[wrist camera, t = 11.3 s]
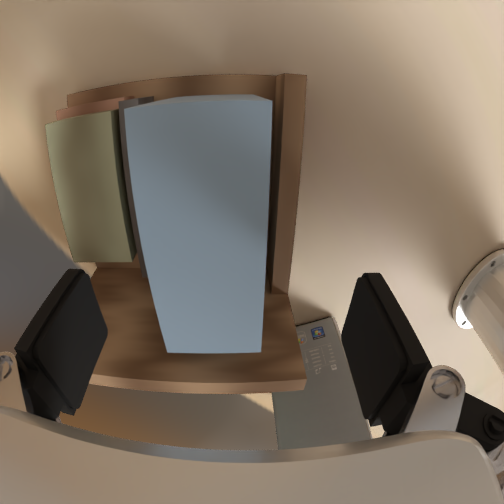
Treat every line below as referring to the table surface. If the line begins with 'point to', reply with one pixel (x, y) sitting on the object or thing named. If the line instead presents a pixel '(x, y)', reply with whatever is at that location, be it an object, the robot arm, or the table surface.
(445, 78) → the table surface
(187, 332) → the book
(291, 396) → the hard drive box
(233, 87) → the shelf
